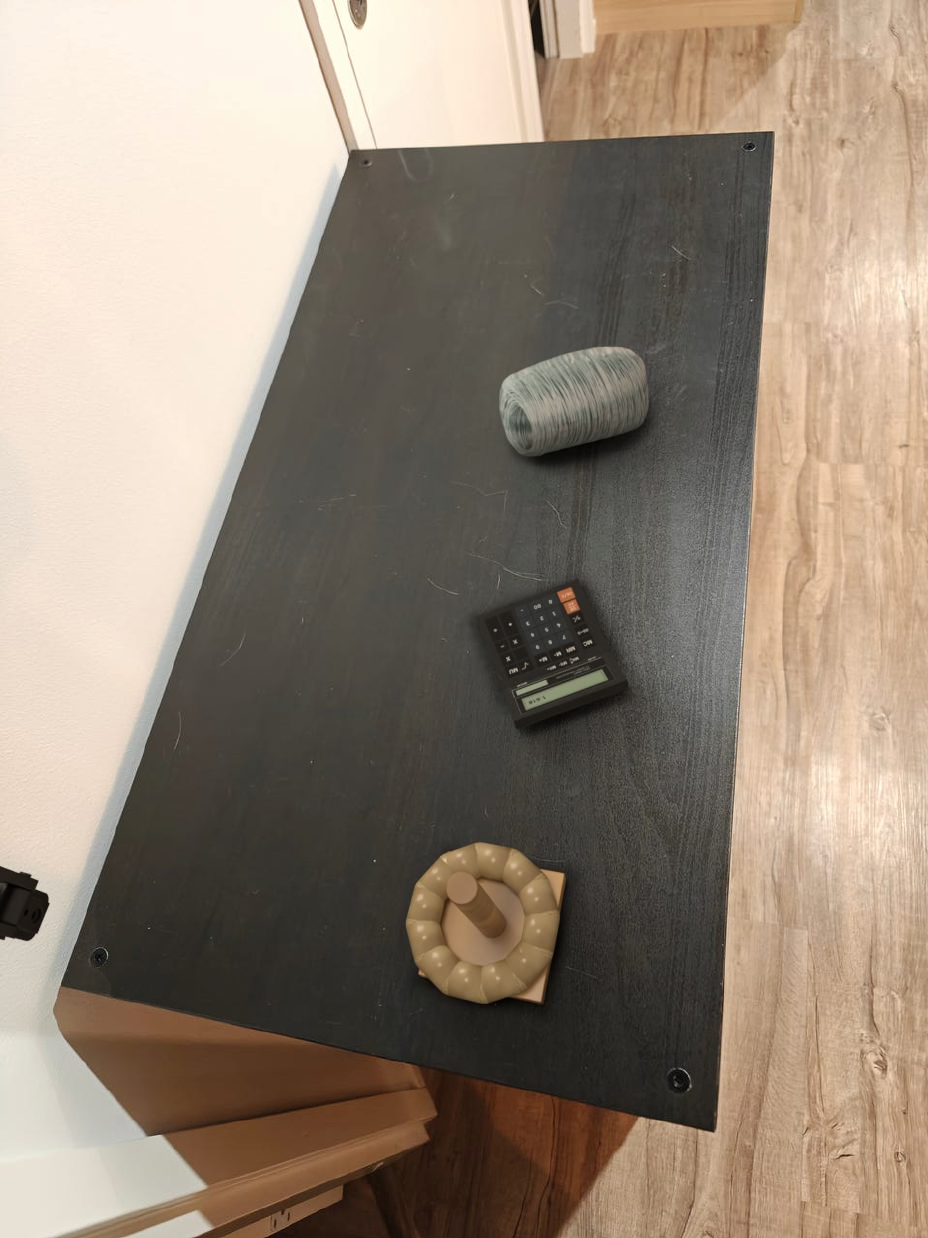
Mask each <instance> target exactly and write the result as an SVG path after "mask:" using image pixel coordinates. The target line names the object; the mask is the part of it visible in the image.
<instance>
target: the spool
mask: <svg viewBox="0 0 928 1238" xmlns="http://www.w3.org/2000/svg"><path fill="white" fill-rule="evenodd" d="M649 405H650V400H649V385H648V376H647V370H646V365H645V364H644V361H643V359H642V358H641V357H640V356H639V355H638V354H637V353H635V352H634V351H633V350H632V349H631V348H626V347H622V346H612V345H611V346H610V345H609V346H595V347H590V348H586V349H581V350H575V351H571V352H567V353H564V354H560V355H557V356H554V357H552V358H549V359H546V360H542V361H539V362H538V363H535V364H533V365H530V366H527V367H525V368H522V369H521V370H518V371H517V372H514V373H513V372H512V373H511V374H510V375H508V376H507V377H506V378H505V379H504V380H503V382H502V384H501V386H500V390H499V395H498V408H499V416H500V421H501V425H502V428H503V430H504V433H505V436H506V438H507V440H508V443H509V444H510V445H511V446H512V448H513V449H515V451H516V452H517V453H518V454H519V455H521V456H523V457H525V458H526V457H542V456H543V455H544V454H547V453H551V452H557V451H560V450H562V449H568V448H572V447H576V446H580V445H583V444H586V443H593V442H596V441H597V442H598V441H600V440H604V439H609V438H612V437H614V436H618V435H623V434H626V433H629V432H631V431H634V430H635V429H637V428H640V426H642V425H643V424H644V422H645V419H646V417H647V414H648V411H649Z"/></svg>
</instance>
